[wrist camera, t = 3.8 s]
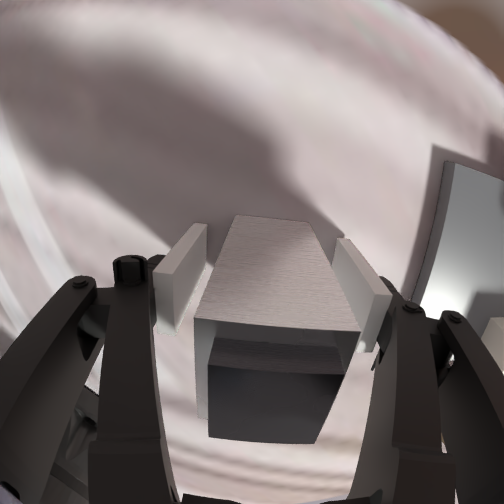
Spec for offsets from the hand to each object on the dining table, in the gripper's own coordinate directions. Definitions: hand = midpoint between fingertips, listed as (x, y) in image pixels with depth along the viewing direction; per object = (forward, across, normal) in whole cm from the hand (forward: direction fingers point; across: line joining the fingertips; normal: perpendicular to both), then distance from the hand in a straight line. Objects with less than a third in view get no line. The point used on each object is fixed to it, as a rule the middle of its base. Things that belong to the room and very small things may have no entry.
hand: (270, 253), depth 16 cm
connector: (0, 0, 0) cm, 0 cm away
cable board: (0, -18, 0) cm, 18 cm away
